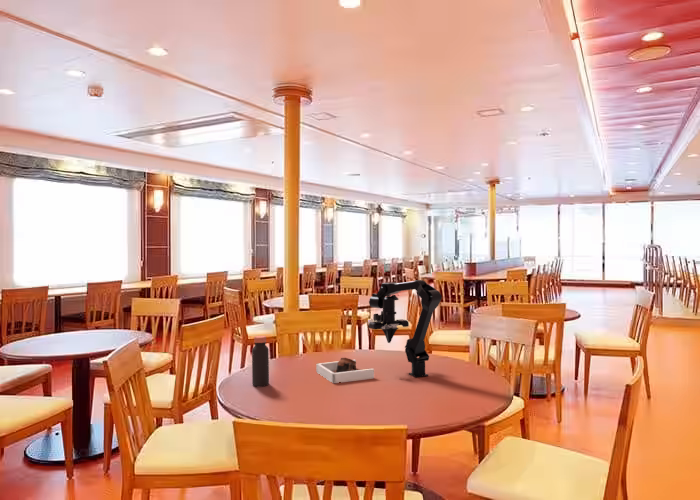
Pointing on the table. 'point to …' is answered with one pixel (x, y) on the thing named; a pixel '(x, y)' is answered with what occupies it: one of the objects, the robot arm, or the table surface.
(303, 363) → the table surface
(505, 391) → the table surface
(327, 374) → the frame
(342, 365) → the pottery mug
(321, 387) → the table surface
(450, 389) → the table surface
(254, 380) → the bottle
